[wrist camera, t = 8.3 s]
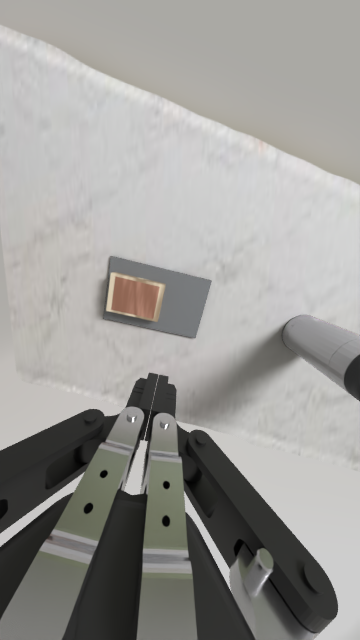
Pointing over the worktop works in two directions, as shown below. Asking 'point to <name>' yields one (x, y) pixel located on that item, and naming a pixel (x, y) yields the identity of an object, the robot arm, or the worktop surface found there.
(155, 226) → the worktop surface
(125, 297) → the cream brown rectangular block
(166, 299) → the rubber mat
